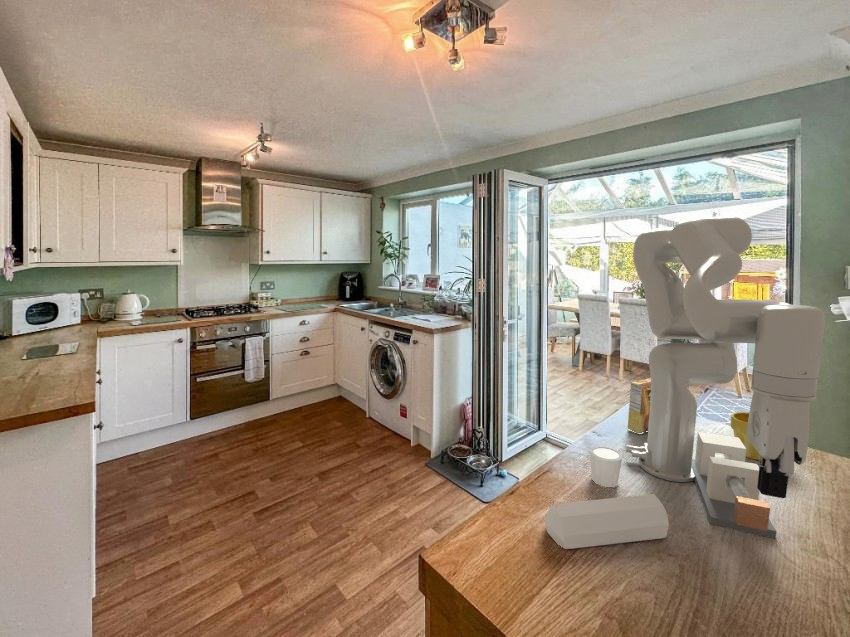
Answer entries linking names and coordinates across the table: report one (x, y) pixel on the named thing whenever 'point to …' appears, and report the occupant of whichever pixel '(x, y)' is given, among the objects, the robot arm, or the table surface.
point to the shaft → (748, 506)
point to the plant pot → (743, 433)
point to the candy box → (639, 405)
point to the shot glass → (605, 466)
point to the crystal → (607, 521)
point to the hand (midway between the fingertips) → (771, 493)
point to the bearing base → (724, 510)
